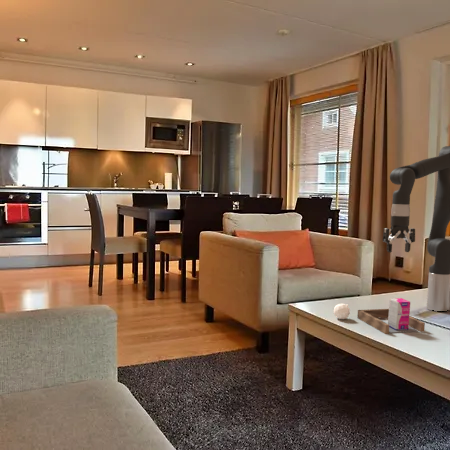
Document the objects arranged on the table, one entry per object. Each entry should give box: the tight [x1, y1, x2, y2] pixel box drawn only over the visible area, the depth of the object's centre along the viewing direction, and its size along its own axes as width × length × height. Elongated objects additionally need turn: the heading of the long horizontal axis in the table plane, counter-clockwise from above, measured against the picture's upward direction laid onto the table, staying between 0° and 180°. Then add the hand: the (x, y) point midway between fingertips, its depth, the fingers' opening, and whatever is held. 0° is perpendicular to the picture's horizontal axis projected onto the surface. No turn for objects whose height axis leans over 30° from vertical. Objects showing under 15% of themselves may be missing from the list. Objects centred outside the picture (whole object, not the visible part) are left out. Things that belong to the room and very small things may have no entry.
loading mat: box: [389, 326, 419, 334], centre depth 187 cm, size 9×12×1 cm
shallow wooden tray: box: [357, 308, 426, 335], centre depth 193 cm, size 22×17×4 cm
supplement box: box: [387, 297, 411, 330], centre depth 187 cm, size 6×6×12 cm
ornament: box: [333, 303, 351, 320], centre depth 199 cm, size 6×7×7 cm
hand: (398, 252), depth 204 cm, fingers open, 8 cm apart
